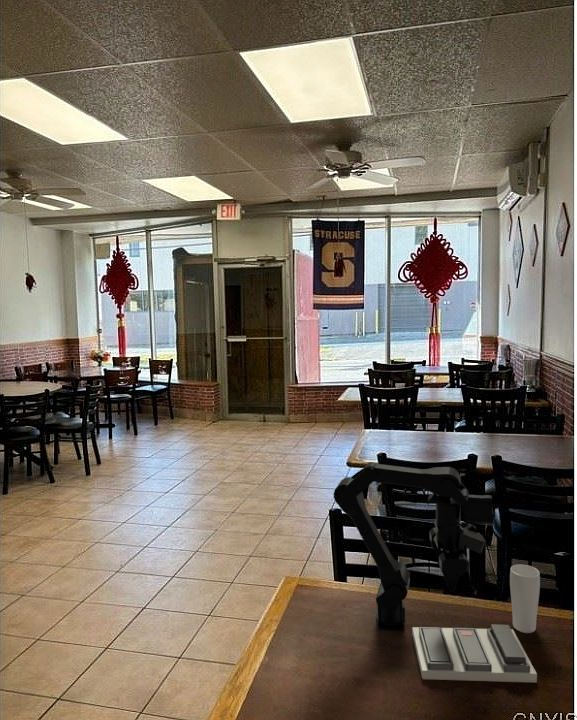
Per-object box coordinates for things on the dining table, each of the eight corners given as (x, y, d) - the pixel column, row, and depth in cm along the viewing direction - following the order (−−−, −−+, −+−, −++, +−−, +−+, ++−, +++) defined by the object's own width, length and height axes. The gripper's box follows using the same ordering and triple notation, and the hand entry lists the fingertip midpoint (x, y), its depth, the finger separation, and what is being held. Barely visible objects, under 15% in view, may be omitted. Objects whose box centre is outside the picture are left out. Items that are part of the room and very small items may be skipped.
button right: (506, 663, 118) (506, 656, 118) (490, 630, 130) (490, 624, 129) (525, 663, 117) (525, 657, 117) (508, 630, 129) (508, 624, 129)
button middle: (468, 668, 119) (468, 661, 118) (456, 635, 130) (456, 629, 130) (487, 669, 118) (487, 662, 118) (473, 635, 130) (473, 629, 130)
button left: (430, 667, 119) (430, 660, 119) (422, 634, 131) (422, 628, 131) (449, 667, 119) (449, 661, 119) (439, 634, 131) (439, 628, 131)
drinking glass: (542, 637, 132) (543, 578, 131) (512, 634, 133) (513, 576, 132) (535, 621, 139) (536, 564, 137) (507, 619, 140) (507, 563, 138)
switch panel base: (422, 679, 119) (422, 663, 118) (412, 634, 135) (412, 621, 134) (536, 682, 117) (536, 667, 116) (512, 637, 132) (512, 623, 132)
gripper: (492, 537, 123) (492, 603, 124) (473, 506, 141) (472, 564, 143) (442, 536, 124) (442, 601, 125) (429, 506, 142) (429, 563, 144)
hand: (448, 581), depth 134 cm, fingers open, 9 cm apart
